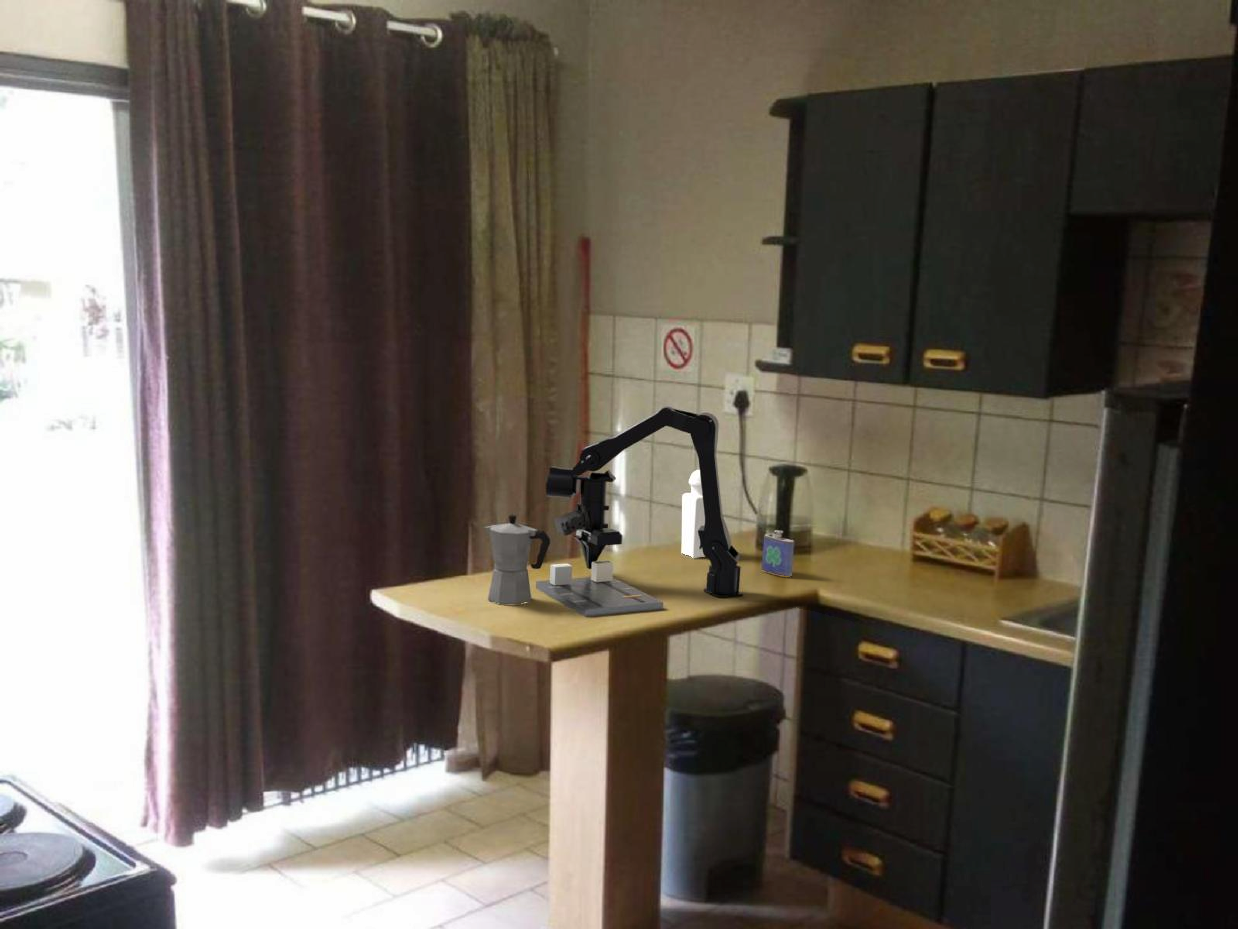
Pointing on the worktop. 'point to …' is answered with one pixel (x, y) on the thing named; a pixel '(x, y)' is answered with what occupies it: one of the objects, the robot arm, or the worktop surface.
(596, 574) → the block
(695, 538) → the white square decanter
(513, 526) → the coffeepot
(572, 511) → the robot arm
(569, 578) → the block white
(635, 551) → the worktop surface
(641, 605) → the panel
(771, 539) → the flask
